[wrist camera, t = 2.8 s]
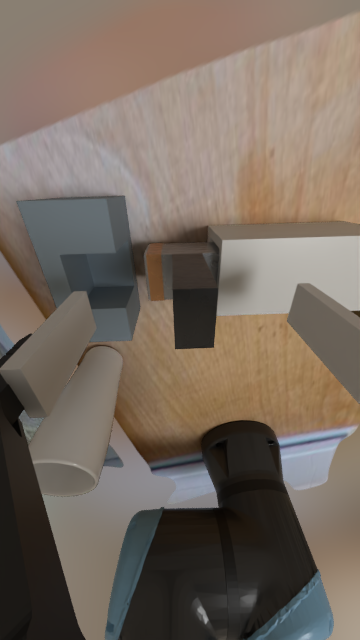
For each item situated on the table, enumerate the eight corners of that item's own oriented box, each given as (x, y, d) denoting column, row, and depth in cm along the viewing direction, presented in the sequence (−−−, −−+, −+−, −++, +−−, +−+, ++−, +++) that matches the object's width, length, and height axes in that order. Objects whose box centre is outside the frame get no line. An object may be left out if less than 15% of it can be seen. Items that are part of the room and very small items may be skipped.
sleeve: (323, 280, 25) (372, 310, 19) (205, 284, 25) (216, 315, 19) (344, 221, 22) (411, 234, 16) (208, 225, 21) (222, 240, 15)
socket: (140, 308, 26) (131, 340, 21) (91, 309, 26) (69, 342, 21) (124, 195, 20) (106, 198, 14) (60, 197, 20) (16, 201, 14)
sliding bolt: (319, 277, 23) (423, 339, 13) (152, 283, 22) (138, 351, 13) (333, 237, 21) (468, 278, 11) (148, 243, 20) (128, 290, 11)
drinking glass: (72, 344, 29) (-7, 467, 16) (119, 335, 28) (76, 455, 16) (93, 378, 32) (42, 501, 20) (135, 370, 32) (111, 492, 19)
